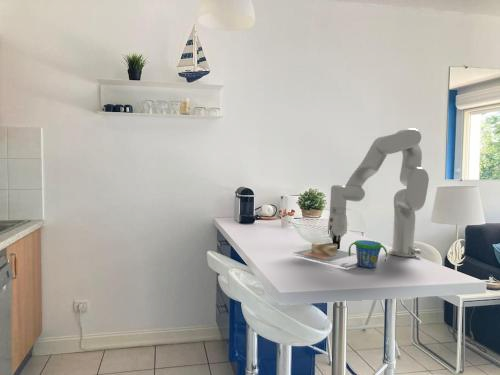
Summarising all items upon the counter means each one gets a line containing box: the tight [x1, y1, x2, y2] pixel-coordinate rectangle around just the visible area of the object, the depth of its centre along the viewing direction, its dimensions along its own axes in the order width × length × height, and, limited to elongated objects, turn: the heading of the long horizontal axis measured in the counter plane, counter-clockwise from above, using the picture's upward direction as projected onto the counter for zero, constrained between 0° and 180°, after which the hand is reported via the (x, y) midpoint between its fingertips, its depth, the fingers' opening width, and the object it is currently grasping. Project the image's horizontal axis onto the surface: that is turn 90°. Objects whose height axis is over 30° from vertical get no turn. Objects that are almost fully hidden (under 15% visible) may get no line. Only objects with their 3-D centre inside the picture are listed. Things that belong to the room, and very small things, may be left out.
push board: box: [292, 248, 357, 262], centre depth 187 cm, size 20×23×1 cm
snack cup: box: [347, 239, 388, 269], centre depth 169 cm, size 16×10×10 cm
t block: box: [311, 242, 338, 257], centre depth 188 cm, size 11×10×4 cm
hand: (336, 248), depth 194 cm, fingers closed
